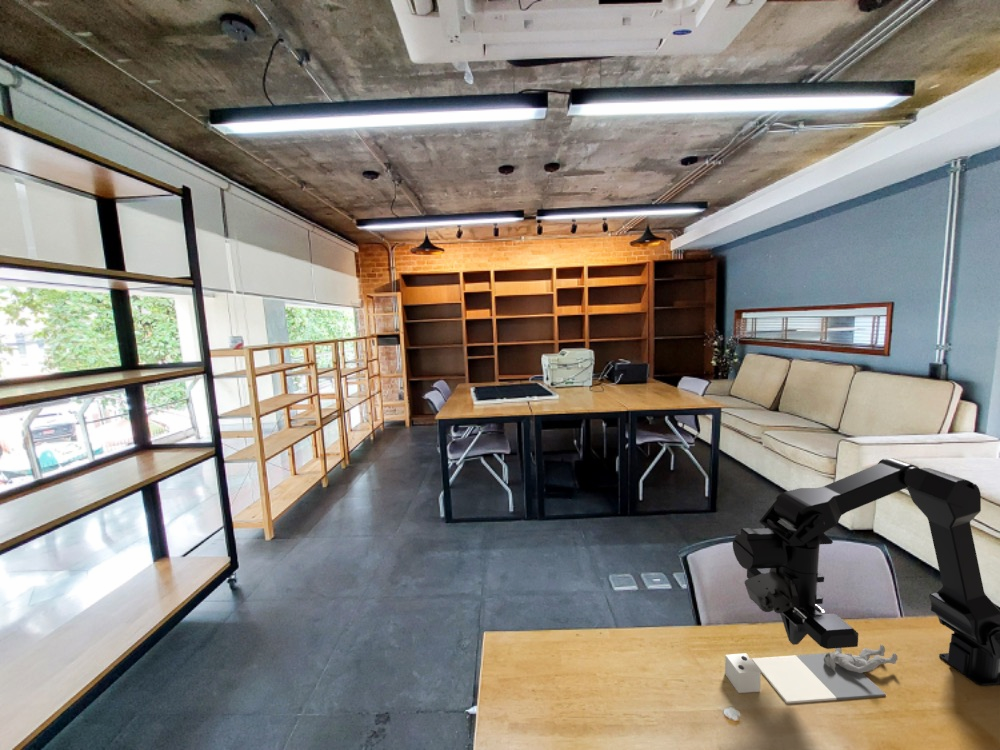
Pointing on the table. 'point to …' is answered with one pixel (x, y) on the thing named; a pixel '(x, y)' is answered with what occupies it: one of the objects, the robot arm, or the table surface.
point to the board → (814, 679)
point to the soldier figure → (859, 660)
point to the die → (742, 673)
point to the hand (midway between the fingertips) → (793, 643)
